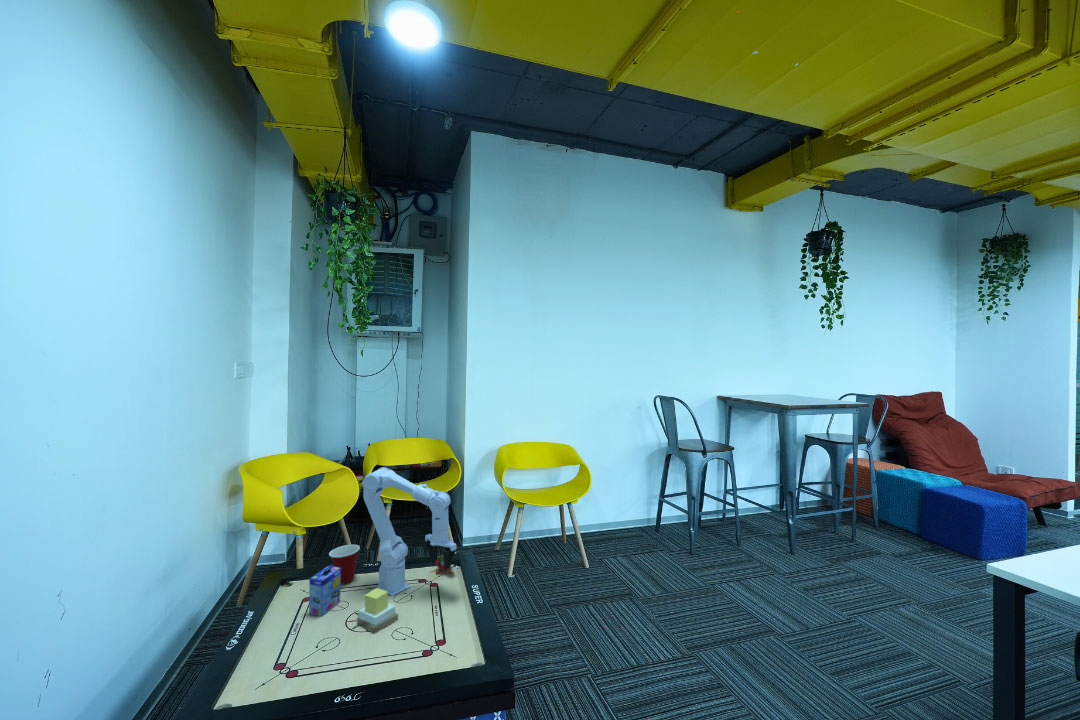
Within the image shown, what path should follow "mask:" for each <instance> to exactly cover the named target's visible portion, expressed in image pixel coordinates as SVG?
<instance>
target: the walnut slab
mask: <svg viewBox="0 0 1080 720" xmlns="http://www.w3.org/2000/svg"><path fill="white" fill-rule="evenodd" d="M397 620H398V621H399V614H398V613H396V612H395V614H394V615H392V616H391V617H389V618H387V619H386V620H384V621H383V622H381V623H379V624H378V625H376V626H374V625H372V624H370V623H368V622H366V621H364V620H361V619H359V616H357V618H356V622H357V624H358V625H359V626H361V627H362V628H363V629H365V630H367V631H368V632H370V633H372V634H376V633H378V632H380V631H381V630H383V629H385V628H387V627H388V625H389V626H390V625H392V624H394V623H396V622H398V621H397ZM395 621H396V622H395ZM386 626H387V627H386ZM379 630H380V631H379Z"/></svg>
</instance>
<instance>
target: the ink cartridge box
mask: <svg viewBox="0 0 1080 720" xmlns="http://www.w3.org/2000/svg"><path fill="white" fill-rule="evenodd" d="M308 580H309V588H308V590H309V591H308V592H309V593H308V596H309V598H308V600H309V601H308V603H309V604H308V607H309V610H308V613H309V614H310V615H315V616H317V617H318V616H319V617H323V616H324V615H326V614H327V613H328V612H330V610H331V609H333V608H335V606H337V605H339V603H341V589H342V588H341V585H342V584H341V568H339V567H334V566H333V563H332V564H331V565H328V566H326V567H324V568H323V569H321V570H320V571H318V572H317V573H316V574H314V575H313V576H311V577H310V578H309V579H308Z"/></svg>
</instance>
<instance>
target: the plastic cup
mask: <svg viewBox="0 0 1080 720" xmlns="http://www.w3.org/2000/svg"><path fill="white" fill-rule="evenodd" d="M359 552H360V545H358V544H346V545H342V546H338V547H336V548H334V549H332V550H331V551H329V552H328V556H329V557H330V559H331V561H332V564H333V565H332V566H333V567H339V568H341V585H346V584H349V583H351V582H353V581H354V579H355V573H356V566H357V561H358V555H359Z"/></svg>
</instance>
